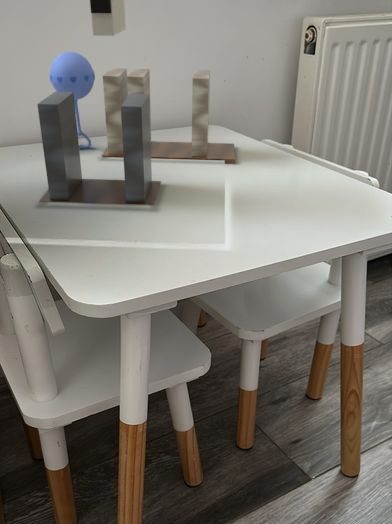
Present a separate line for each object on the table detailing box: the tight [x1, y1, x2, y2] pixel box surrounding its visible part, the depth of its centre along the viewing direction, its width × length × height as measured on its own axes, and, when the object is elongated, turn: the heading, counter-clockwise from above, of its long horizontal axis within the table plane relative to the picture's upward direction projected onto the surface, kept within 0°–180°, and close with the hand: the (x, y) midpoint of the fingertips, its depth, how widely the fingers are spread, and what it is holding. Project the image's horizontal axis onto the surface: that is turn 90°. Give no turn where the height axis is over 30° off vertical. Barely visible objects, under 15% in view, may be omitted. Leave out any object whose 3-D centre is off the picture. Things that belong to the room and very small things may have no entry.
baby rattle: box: [48, 51, 96, 150], centre depth 111 cm, size 9×9×18 cm
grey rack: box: [36, 91, 162, 206], centre depth 88 cm, size 18×12×15 cm, turn 88°
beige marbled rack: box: [101, 67, 236, 165], centre depth 110 cm, size 26×12×15 cm, turn 88°
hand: (108, 10), depth 81 cm, fingers closed on white book, 10 cm apart
